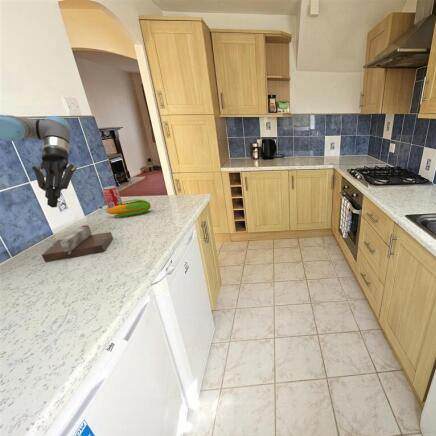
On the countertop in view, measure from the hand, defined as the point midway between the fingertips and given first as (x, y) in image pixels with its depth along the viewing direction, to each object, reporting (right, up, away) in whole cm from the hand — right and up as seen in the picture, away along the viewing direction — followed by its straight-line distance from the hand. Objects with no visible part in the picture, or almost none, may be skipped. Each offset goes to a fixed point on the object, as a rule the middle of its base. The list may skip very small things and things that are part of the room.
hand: (52, 205), depth 88 cm
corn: (+3, -3, +39) cm, 39 cm away
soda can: (-12, +1, +49) cm, 51 cm away
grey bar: (+5, -14, +5) cm, 16 cm away
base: (+5, -17, +7) cm, 19 cm away
